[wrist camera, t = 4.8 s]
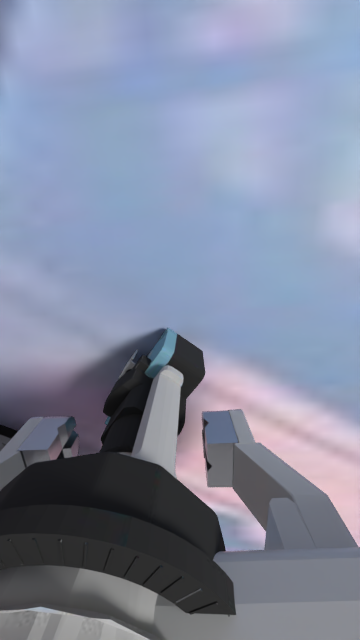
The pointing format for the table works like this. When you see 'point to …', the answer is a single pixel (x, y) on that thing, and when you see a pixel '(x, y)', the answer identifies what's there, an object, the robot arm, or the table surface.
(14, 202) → the table surface
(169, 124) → the table surface
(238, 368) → the table surface
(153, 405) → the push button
